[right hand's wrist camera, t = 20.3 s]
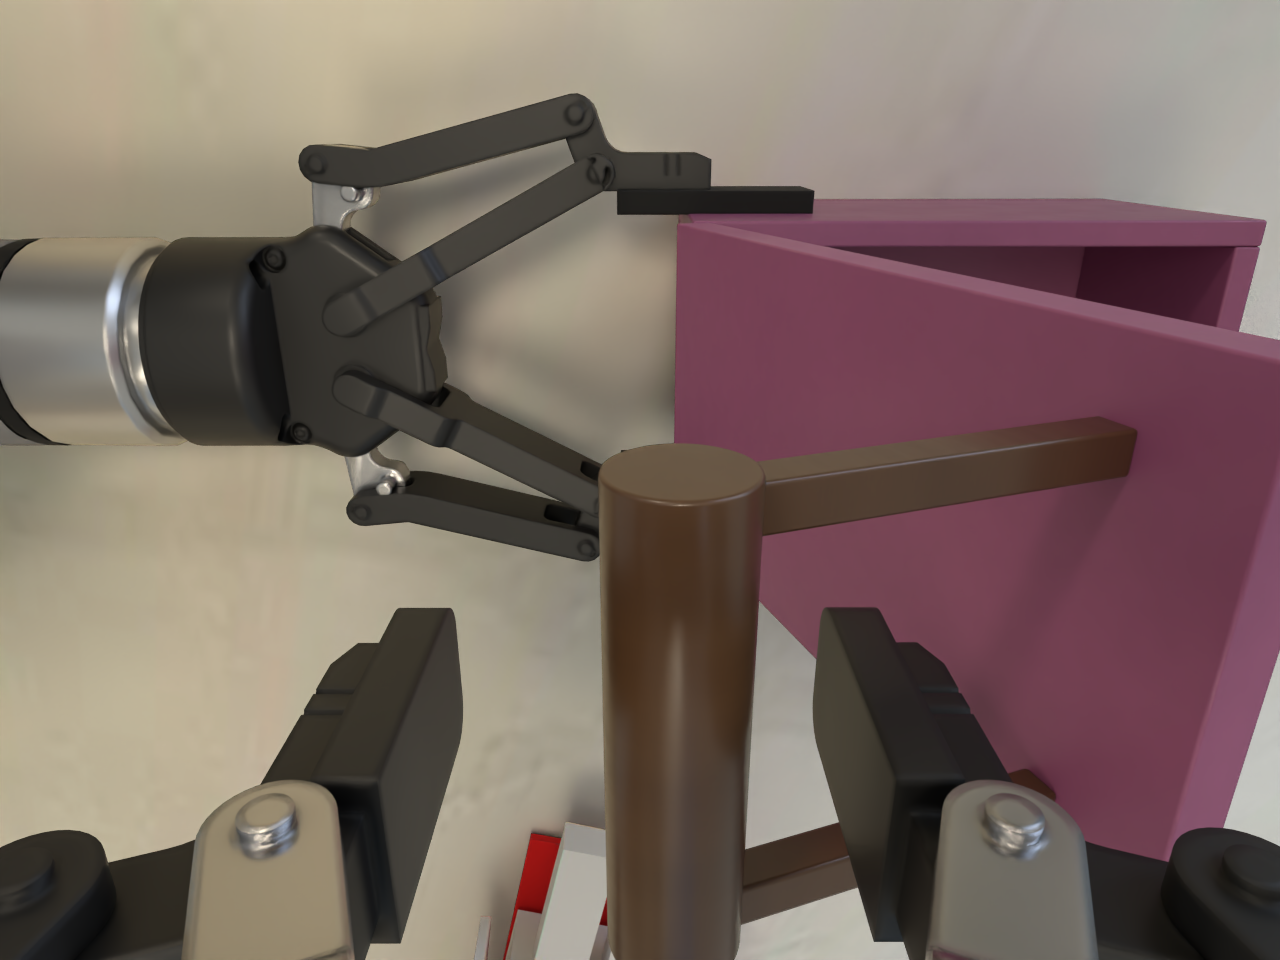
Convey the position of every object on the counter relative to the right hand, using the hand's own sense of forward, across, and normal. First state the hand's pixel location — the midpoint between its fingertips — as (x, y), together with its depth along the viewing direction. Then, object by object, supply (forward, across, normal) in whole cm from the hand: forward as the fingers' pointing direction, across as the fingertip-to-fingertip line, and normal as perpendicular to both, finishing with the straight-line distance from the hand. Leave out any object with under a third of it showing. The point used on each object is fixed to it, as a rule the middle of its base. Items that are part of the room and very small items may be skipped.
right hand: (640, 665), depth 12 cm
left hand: (+21, +6, 0) cm, 22 cm away
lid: (+8, +5, 0) cm, 9 cm away
